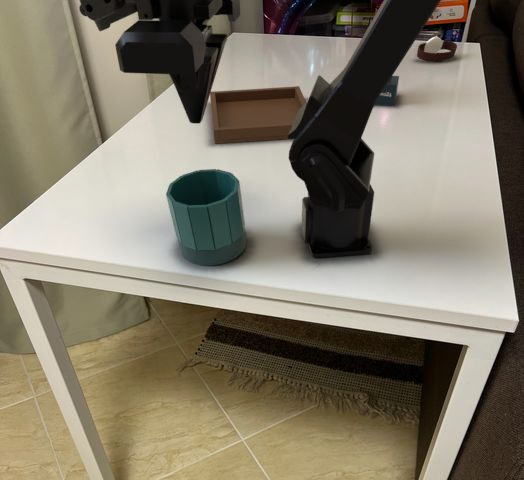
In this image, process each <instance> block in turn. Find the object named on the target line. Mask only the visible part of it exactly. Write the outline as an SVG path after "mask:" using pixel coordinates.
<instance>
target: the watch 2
mask: <svg viewBox="0 0 524 480" xmlns="http://www.w3.org/2000/svg"><path fill="white" fill-rule="evenodd" d="M417 47H418V48H417V50H416V51H417V52H416V57H417V58H418V59H419V60H421V61H425V62H432V63H443V62H444V61H449V60H451V59H453V58H454V57H455V54H456V51H457V48H458V44H457V43H456V42H454V41H451V40H442V39H441V38H440V37H438V35H435V36H433V37H431V38H430V39H428V40H427V41H426V42H423V43H420V44H419V45H418V46H417ZM441 50H445V51H444V52H439V51H441Z"/></svg>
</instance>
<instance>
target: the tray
mask: <svg viewBox="0 0 524 480" xmlns="http://www.w3.org/2000/svg"><path fill="white" fill-rule="evenodd" d="M209 99H210V108H211V109H210V110H211V118H212V119H211V120H212V129H213V140H214V144H216V145H217V144H218V145H219V144H232V143H246V142H247V143H248V142H259V141H261V142H262V141H276V140H277V141H278V140H290V139H289V138H288V134H289V132H290V130H291V127H292V125H293V123H294V120H295V118H296V116H297V114H298V111H299V109H300V108H301V107H302V106H304V105H305V104H306V103H307V101H306V99H305V96H304V94H303V92H302V90H301V87H300V86H299V85H296V86H282V87H267V88H266V87H265V88H252V89H251V88H250V89H249V88H247V89H232V90H231V89H230V90H216V91H215V90H214V91H213V90H212V91H211V92H210V96H209Z"/></svg>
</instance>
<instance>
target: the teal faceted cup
mask: <svg viewBox="0 0 524 480" xmlns="http://www.w3.org/2000/svg"><path fill="white" fill-rule="evenodd" d="M165 195H166V200H167V205H168V209H169V213H170V216H171V221H172V224H173V229H174V232H175V237H176V238H177V241H178V245H179V246H178V247H179V250H180V254H181V256H182V257H183V258H184V259H185V260H186V261H187V262H190V263H191V264H194V265H198V266H217V265H222V264H225V263H228V262H230V261H233V260H234V259H236V258H237V257H240V255H241V254H242V253H243V252H244V250H245V249H246V247H247V235H246V228H245V225H246V221H245V215H244V207H243V198H242V191H241V183H240V180H239V178H237V177H236V176H235V175H234V174H233V172H229V171H226V170H222V169H218V168H217V169H216V168H210V169H199V170H198V169H197V170H194V171H190V172H188V173H184V174H182V175H180V176H178V177H177V178H175V180H173V181H172V182H170V183H169V184H168V186H167V189H166V193H165Z"/></svg>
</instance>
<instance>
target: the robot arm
mask: <svg viewBox="0 0 524 480" xmlns="http://www.w3.org/2000/svg"><path fill="white" fill-rule="evenodd" d="M441 1H442V0H383V1H382V3H381V5H380V6H379V8H378V10H377V12H376V13H375V15H374V16H373V18H372V21H371V22H370V24H369V25H368V27H367V29H366V31H365V32H364V34H363V36H362V38H361V39H360V41H359V43H358V45H357V46H356V48H355V50H354V52H353V53H352V55H351V57H350V59H349V60H348V62H347V64H346V65H345V67H344V69H342V71H340V72H339V74H338V75H337V76H335V78H334V79H333V80H332V81H331V82H330V83H329V82H328V81H327V79H325V78H324V77H323V76H322V75H320V74H319V75H318V76H317V78H316V80H315V83H314V84H313V87H312V89H311V92H310V94H309V96H308V99H307V101H306V104H305V105H304V106H302V107H301V108H300V109H299V111H298V114H297V116H296V118H295V120H294V123H293V125H292V127H291V130H290V132H289V134H288V138H289V139H288V140H292V142H291V145H290V147H289V151H288V161H289V163H290V167H291V170H292V171H293V172H294V174H295V175H296V177H298V178H299V179H300V180H301V181H302V182H304V185H305V188H306V190H307V196H304V197H303V198H302V199H301V203H302V204H301V227H300V228H301V234H302V237H303V241H304V243H305V244H306V245H308V248H309V251H310V255H311V256H312V257H313V258H327V257H339V256H351V255H364V254H371V253H373V245H372V242H371V241H370V231H371V222H372V213H373V205H374V198H375V190H374V189H373V187H372V185H371V179H372V173H373V165H374V159H375V152H374V151H373V149H372V148H371V147H370V146H369V145H368V144H367V143H366V142H365V140H364V139H363V138H362V137H363V134H364V132H365V129H366V127H367V124H368V122H369V120H370V117H371V114H372V112H373V109H374V106H375V102H376V100H377V99H378V97H379V96H380V94H381V92H382V91H383V89H384V88H385V86H386V85H387V83H388V82H389V80H390V78H391V77H392V76H394V74H395V72H396V71H397V69H398V68H399V66H400V64H401V63H402V62H403V60H404V59H405V57H406V55H407V53H409V51H410V49H411V47H412V46H413V44H414V43H415V42H416V39H417V38H418V37H419V35H420V34H421V33H422V30H423V29H424V27H425V26H426V24H427V23H428V21H429V19H430V18H431V16H432V15H433V14H434V12H435V10H436V9H437V7H438V5H439V4H440V3H441ZM79 3H80V5H79V12H80V14H81V15H82V16H84V17H87V18H88V19H89V20H91V21H93V22H94V24H95V25H96V28H97V29H98V31H99V32H102V31H106V30H107V29H109V28H111V25H112V24H114V23H117V22H119V21H120V20H123V19H125V18H127V17H129V16H131V15H134V14H136V13H137V16H138V17H137V18H138V20H137V21H135V22H134V23H133V24H132V25H130V27H128V28H127V29H126V30H124V31H123V32H122V34H121V36H120V37H119V38H118V40H117V41H116V43H115V44H114V46H115V51H116V56H117V57H116V58H117V61H118V67H119V71H120V72H122V73H124V74H149V75H150V74H151V75H168V76H169V77H170V79H171V81H172V84H173V85H174V88H175V90H176V92H177V95H178V97H179V100H180V102H181V104H182V107H183V110H184V112H185V114H186V117H187V119H188V121H189V123H191V124H196V125H197V124H201V123H202V121H203V119H204V116H205V112H206V110H207V106H208V102H209V100H210V92H212V88H213V86H214V82H215V80H216V79H215V78H216V76H217V73H218V69H219V66H220V63H221V59H222V55H223V53H224V49H225V46H226V43H227V42H228V36H229V35H228V34H227V33H216V32H215V33H213V25H211V24H208V23H209V21H210V20H211V19H212V18H213V17H215V16H227V19H228V22H229V23H231V22H236V21H237V20H238V19H239V18H240V16H241V0H79ZM156 19H157V20H156Z"/></svg>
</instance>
